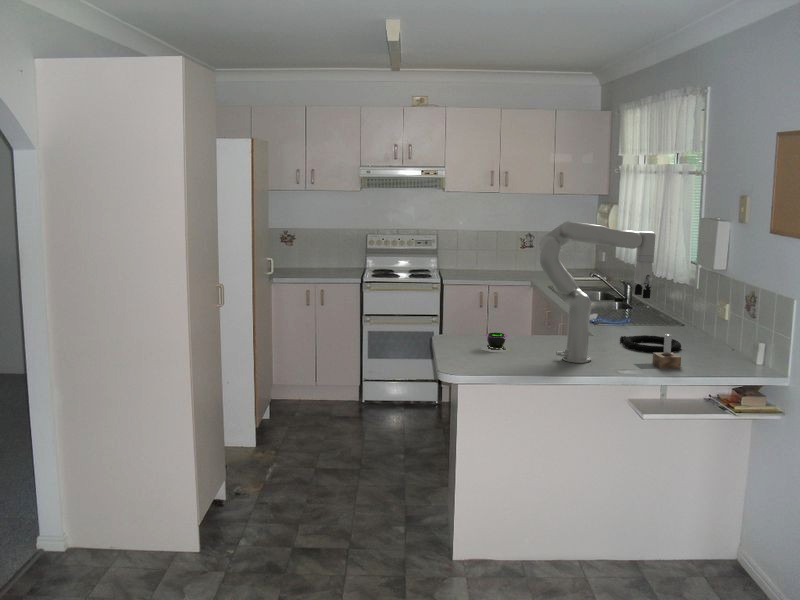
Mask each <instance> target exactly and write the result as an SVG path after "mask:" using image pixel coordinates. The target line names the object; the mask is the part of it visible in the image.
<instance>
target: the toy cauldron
mask: <svg viewBox="0 0 800 600" xmlns="http://www.w3.org/2000/svg"><path fill="white" fill-rule="evenodd" d="M495 327H496V326H493V329H489V331H490V330H492V331H491V332H489V333H485V336H486V337H487V340H486V341H487V344H486V346H487V347H488V349H491V350H501V349H500V348H502V347H503V348H502V349H503V350H506V347H507V346H505V347H504V345H505V342H506V340H507V338H506V336H507V334H505V333H502V332H499V331H497V332H494V331H493V330H494V328H495ZM497 327H498V326H497ZM497 327H496V328H497ZM500 330H502V331H503V329H501V328H500ZM489 346H490V347H493V348H490V347H489ZM496 348H498V349H496Z"/></svg>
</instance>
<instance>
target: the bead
mask: <svg viewBox="0 0 800 600" xmlns="http://www.w3.org/2000/svg"><path fill="white" fill-rule="evenodd" d="M663 353H664V352H663ZM663 353H652V360H651V361H652V364H654V365H656V366H657V367H659V368H666V369H682V368H681V367H682V366H681V364H682V356H680V355H679V354H677V353H675V352H671V356H663Z"/></svg>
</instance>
